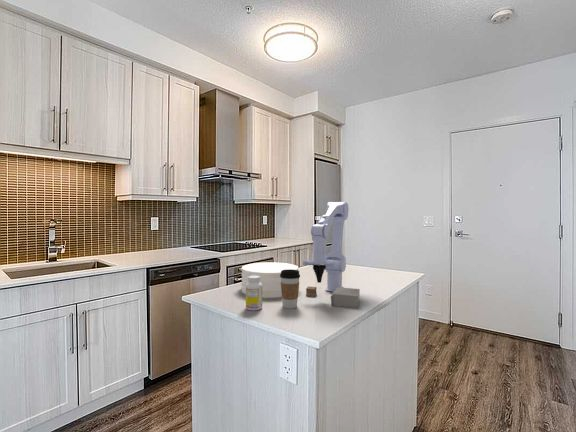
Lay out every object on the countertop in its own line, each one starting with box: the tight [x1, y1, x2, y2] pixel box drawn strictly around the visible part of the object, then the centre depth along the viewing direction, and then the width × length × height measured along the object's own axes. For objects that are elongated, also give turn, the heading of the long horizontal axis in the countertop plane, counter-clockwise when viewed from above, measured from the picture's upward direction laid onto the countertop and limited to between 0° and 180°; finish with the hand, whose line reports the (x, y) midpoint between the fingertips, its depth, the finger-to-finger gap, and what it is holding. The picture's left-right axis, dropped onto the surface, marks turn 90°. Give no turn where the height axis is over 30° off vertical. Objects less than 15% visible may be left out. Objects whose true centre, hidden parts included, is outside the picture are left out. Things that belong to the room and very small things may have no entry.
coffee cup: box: [280, 269, 301, 309], centre depth 129 cm, size 8×8×15 cm
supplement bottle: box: [245, 276, 263, 312], centre depth 126 cm, size 7×7×13 cm
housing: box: [332, 287, 361, 309], centre depth 134 cm, size 12×10×5 cm
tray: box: [330, 289, 336, 306], centre depth 135 cm, size 12×10×4 cm
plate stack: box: [241, 261, 299, 299], centre depth 155 cm, size 28×28×12 cm
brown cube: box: [305, 286, 317, 298], centre depth 145 cm, size 4×4×4 cm
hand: (319, 282), depth 138 cm, fingers closed
